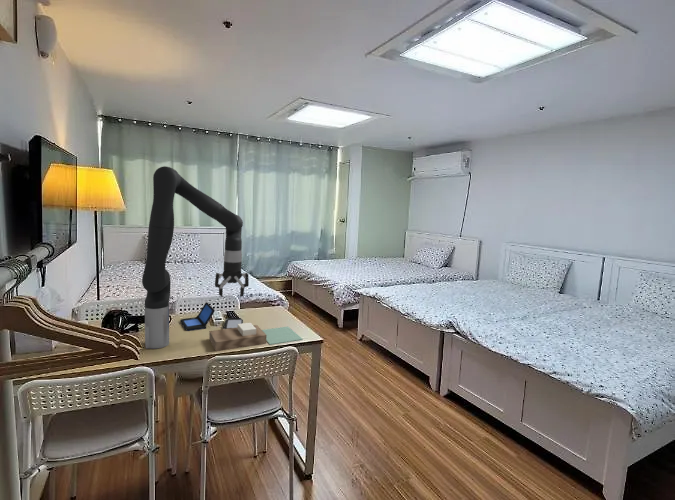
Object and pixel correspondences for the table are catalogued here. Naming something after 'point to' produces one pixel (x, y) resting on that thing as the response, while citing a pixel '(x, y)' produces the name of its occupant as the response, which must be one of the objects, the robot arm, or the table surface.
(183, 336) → the table surface
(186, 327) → the handheld game console
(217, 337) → the block
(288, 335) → the mat
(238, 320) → the gaming console
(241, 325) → the tile
